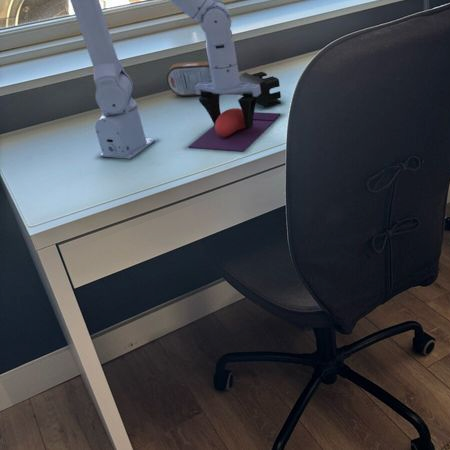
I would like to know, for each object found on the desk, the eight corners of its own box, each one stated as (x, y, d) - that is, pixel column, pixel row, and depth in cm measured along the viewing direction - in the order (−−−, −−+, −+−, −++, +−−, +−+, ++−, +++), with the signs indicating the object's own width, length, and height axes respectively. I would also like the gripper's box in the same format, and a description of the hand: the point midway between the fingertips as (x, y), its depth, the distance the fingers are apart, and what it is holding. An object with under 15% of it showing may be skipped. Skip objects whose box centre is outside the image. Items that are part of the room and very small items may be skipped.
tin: (226, 90, 149) (221, 59, 145) (224, 95, 147) (218, 62, 142) (172, 94, 151) (165, 63, 147) (168, 98, 149) (161, 66, 144)
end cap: (238, 101, 141) (234, 75, 138) (263, 94, 144) (259, 68, 141) (257, 112, 134) (253, 84, 130) (282, 104, 137) (279, 76, 133)
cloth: (243, 151, 115) (243, 149, 115) (188, 147, 120) (188, 145, 119) (281, 115, 131) (280, 113, 130) (231, 112, 135) (230, 110, 135)
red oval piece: (213, 137, 126) (204, 119, 120) (243, 112, 128) (236, 94, 123) (227, 149, 124) (219, 132, 118) (257, 124, 126) (251, 106, 120)
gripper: (263, 58, 117) (271, 120, 124) (202, 58, 122) (213, 117, 129) (248, 69, 111) (257, 133, 119) (185, 68, 117) (198, 129, 124)
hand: (233, 126), depth 124 cm, fingers open, 7 cm apart
